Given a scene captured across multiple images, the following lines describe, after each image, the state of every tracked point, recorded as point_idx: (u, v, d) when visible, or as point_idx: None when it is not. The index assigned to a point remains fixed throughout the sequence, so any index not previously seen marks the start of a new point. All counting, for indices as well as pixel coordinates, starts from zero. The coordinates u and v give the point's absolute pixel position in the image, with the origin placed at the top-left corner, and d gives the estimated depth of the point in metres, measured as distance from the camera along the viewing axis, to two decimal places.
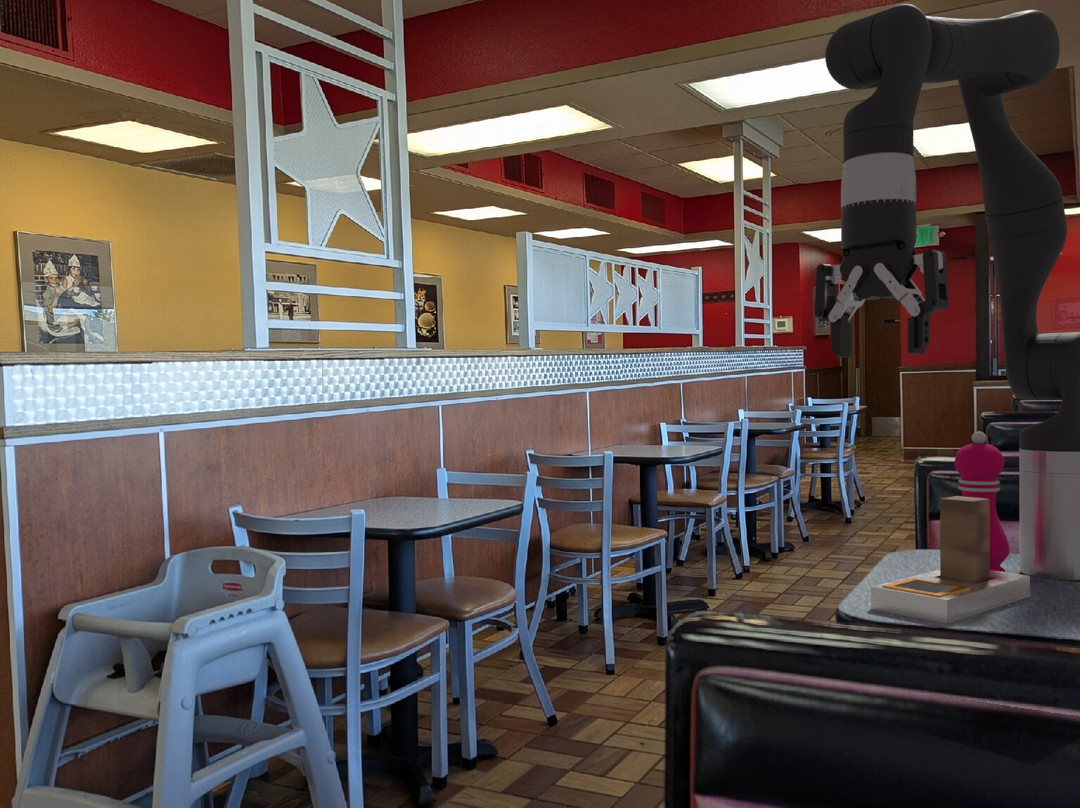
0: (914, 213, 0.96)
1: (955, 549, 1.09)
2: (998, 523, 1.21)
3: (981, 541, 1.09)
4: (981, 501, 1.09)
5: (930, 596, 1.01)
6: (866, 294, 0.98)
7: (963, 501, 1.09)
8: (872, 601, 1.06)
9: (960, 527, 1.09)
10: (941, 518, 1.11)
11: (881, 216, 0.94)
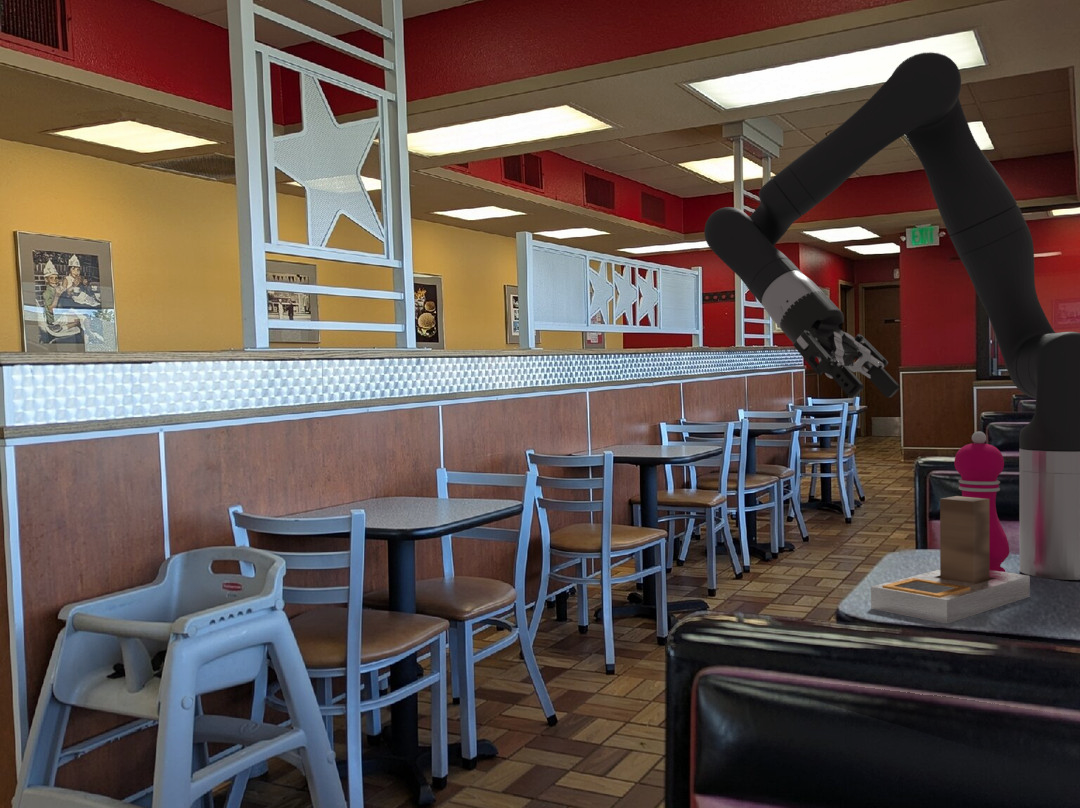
0: (795, 312, 1.24)
1: (955, 549, 1.09)
2: (998, 523, 1.21)
3: (981, 541, 1.09)
4: (981, 501, 1.09)
5: (930, 596, 1.01)
6: None
7: (963, 501, 1.09)
8: (872, 601, 1.06)
9: (960, 527, 1.09)
10: (941, 518, 1.11)
11: (787, 336, 1.27)
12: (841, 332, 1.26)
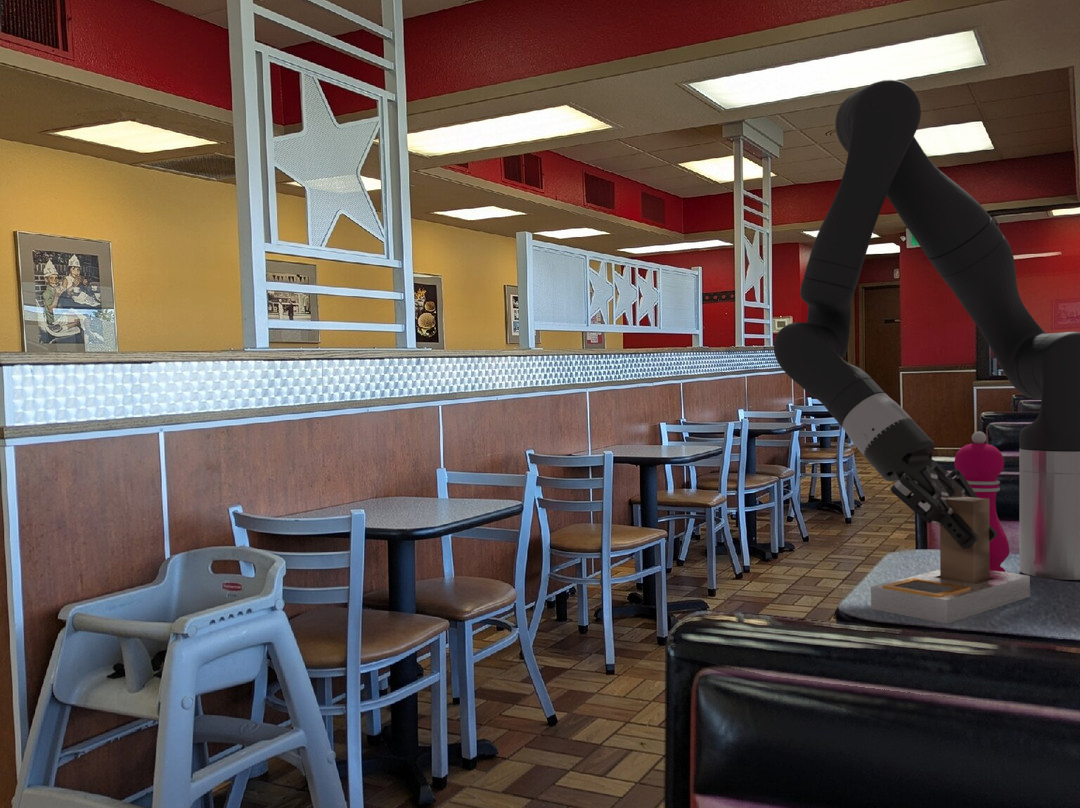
0: (883, 442, 1.15)
1: (955, 549, 1.09)
2: (998, 523, 1.21)
3: (981, 541, 1.09)
4: (981, 501, 1.09)
5: (930, 596, 1.01)
6: None
7: (963, 501, 1.09)
8: (872, 601, 1.06)
9: None
10: None
11: (872, 465, 1.18)
12: (932, 462, 1.16)
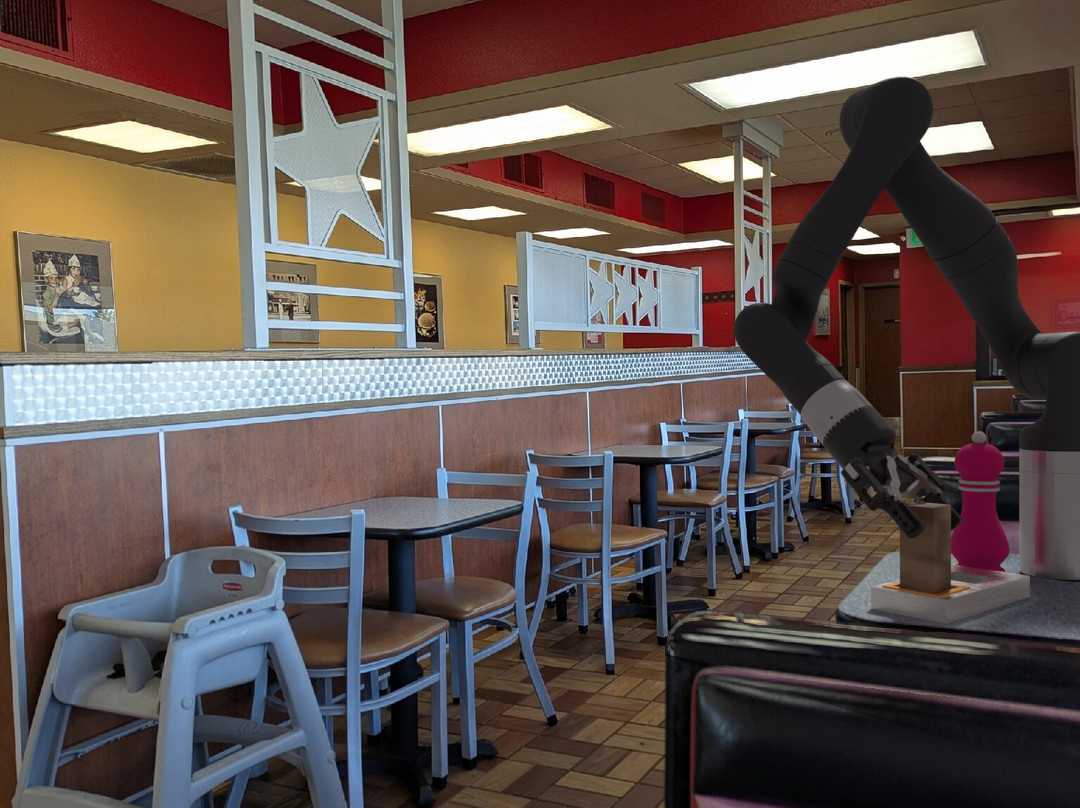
0: (841, 431, 1.09)
1: (915, 558, 1.04)
2: (998, 523, 1.21)
3: (942, 549, 1.03)
4: (942, 507, 1.03)
5: (930, 596, 1.01)
6: None
7: (923, 507, 1.03)
8: (872, 601, 1.06)
9: (921, 535, 1.03)
10: None
11: (831, 455, 1.12)
12: (893, 451, 1.11)
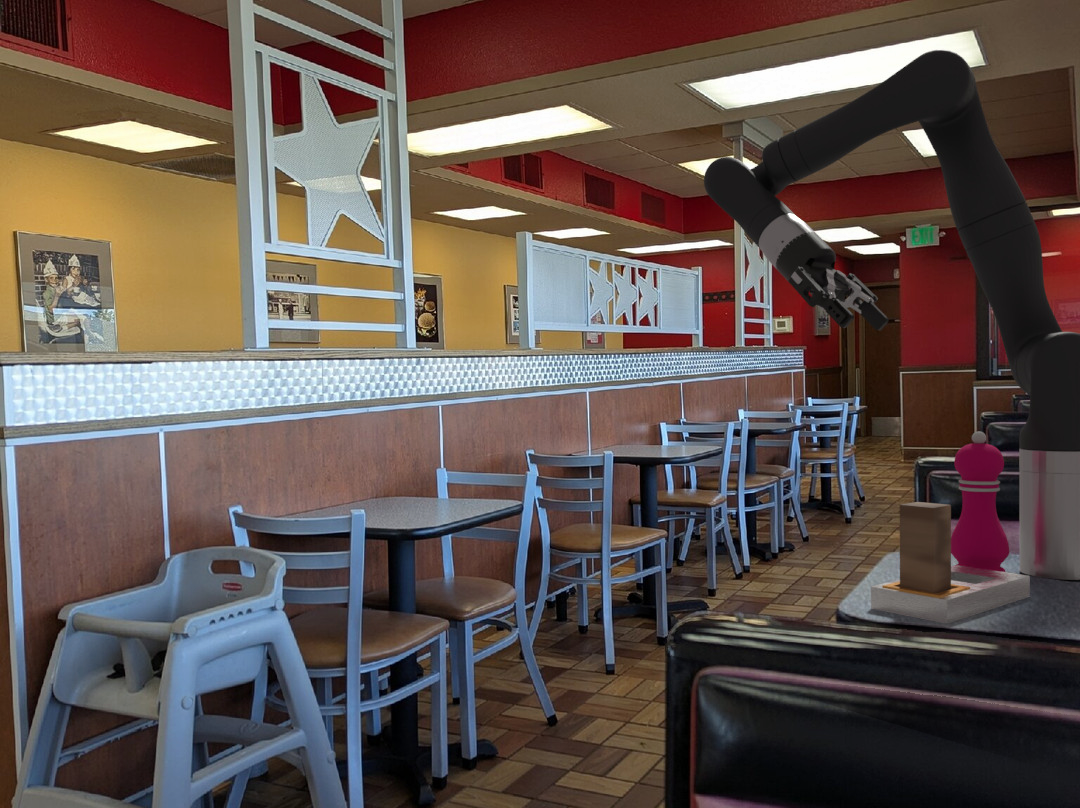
0: (790, 251, 1.32)
1: (915, 558, 1.04)
2: (998, 523, 1.21)
3: (942, 549, 1.03)
4: (942, 507, 1.03)
5: (930, 596, 1.01)
6: None
7: (923, 507, 1.03)
8: (872, 601, 1.06)
9: (921, 535, 1.03)
10: (901, 525, 1.05)
11: (783, 275, 1.35)
12: (834, 270, 1.34)
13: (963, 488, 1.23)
